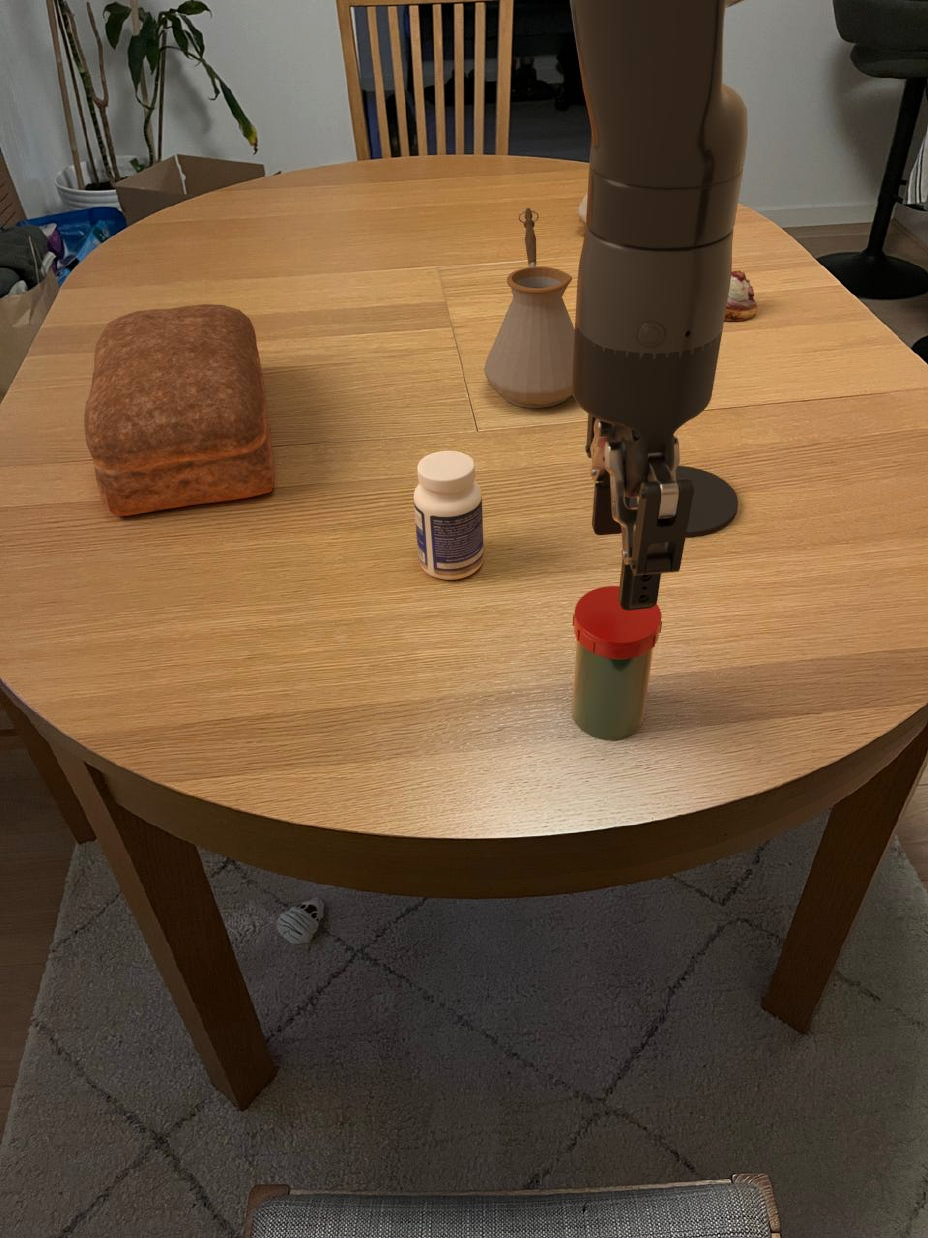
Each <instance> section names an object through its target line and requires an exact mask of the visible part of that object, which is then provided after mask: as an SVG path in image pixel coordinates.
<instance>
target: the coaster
mask: <svg viewBox="0 0 928 1238" xmlns="http://www.w3.org/2000/svg"><path fill="white" fill-rule="evenodd" d="M687 478H690V479H691V481H692V484H693V487H694V494H693V499H692V505H691V511H690V516H689V522H688V527H687V533H686V538H695V537H702V536H707V535H710V534H713V533H716V532H718V531H720V530H723V529H724V528H725V527H727V526H728V525H729V524H730V523H732V522H733V520H734V519H735V517H736V515H737V512H738V508H739V498H738V495H737V493H736V491H735V490H734V488H733V487H732V486H731V485H730V484H729V483H728V482H727V481H726V480H724V479H723V478H721V477H720V476H718V475H716V474H714V473H712V472H709V471H707V470H704V469H701V468H697V467H693V466H687V465H678V467H677V468H676V479H687ZM637 507H638V504H637V497H636V498H630V504H629V508H637Z"/></svg>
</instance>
